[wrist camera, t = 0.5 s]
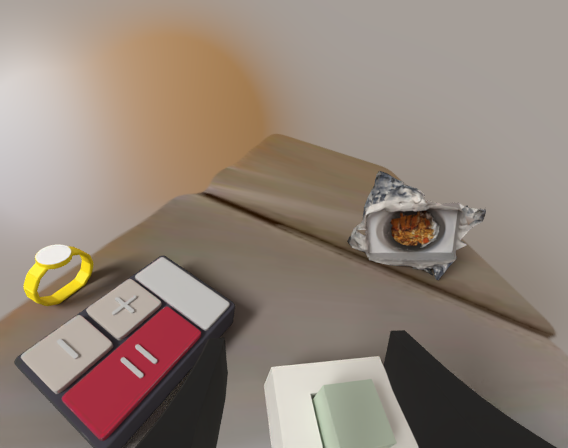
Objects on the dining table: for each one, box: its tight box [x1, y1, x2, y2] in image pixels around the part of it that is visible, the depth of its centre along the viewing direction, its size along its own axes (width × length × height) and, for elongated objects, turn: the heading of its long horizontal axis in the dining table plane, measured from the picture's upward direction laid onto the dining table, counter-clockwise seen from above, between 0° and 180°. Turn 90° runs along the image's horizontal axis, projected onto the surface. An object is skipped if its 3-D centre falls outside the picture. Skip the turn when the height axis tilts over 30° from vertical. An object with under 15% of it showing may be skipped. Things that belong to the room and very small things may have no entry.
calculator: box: [14, 256, 235, 448], centre depth 27 cm, size 11×4×15 cm
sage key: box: [312, 379, 397, 448], centre depth 22 cm, size 4×4×4 cm
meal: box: [348, 171, 486, 280], centre depth 43 cm, size 15×4×13 cm, turn 76°
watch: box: [24, 245, 93, 306], centre depth 29 cm, size 6×3×6 cm, turn 156°
